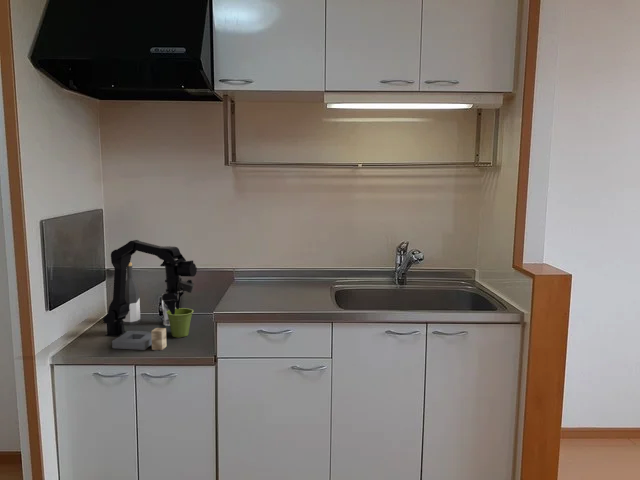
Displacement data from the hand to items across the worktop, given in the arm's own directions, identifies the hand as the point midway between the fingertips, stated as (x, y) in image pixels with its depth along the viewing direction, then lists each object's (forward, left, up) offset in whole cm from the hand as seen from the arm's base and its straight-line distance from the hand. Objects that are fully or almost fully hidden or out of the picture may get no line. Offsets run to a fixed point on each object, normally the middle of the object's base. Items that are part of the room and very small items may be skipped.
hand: (175, 311), depth 203 cm
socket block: (-16, -4, -14) cm, 21 cm away
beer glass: (-13, +24, -14) cm, 30 cm away
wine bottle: (-32, +23, -14) cm, 41 cm away
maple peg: (-4, -8, -14) cm, 16 cm away
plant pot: (-1, +8, -14) cm, 16 cm away
